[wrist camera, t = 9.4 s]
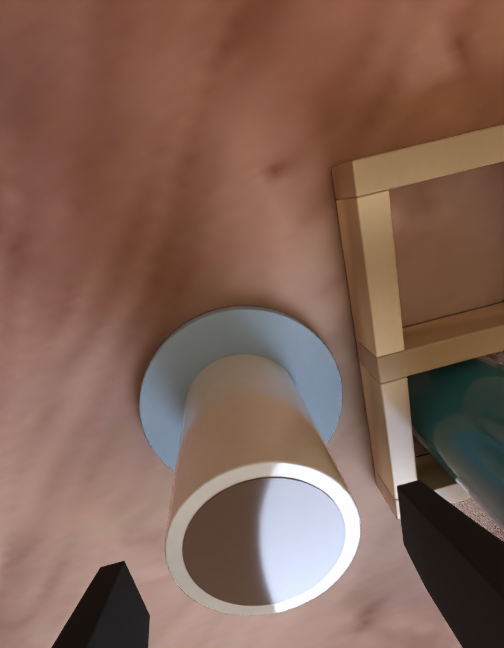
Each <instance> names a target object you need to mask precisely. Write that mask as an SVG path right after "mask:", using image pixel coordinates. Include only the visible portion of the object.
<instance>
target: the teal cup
mask: <svg viewBox="0 0 504 648" xmlns="http://www.w3.org/2000/svg"><path fill="white" fill-rule="evenodd" d="M407 381H408V391H409V402H410V412H411V422H412V432H413V435H414V436H415V437H416V439H417V440H418V441H419V442H420V443H421V444H422V445H423V446H424V447H425V448H426V449H427V450H428V452H429V453H430V454H431V455H432V456H433V457H434V458H435V459H436V460H437V461H438V462H439V463H440V465H441V466H442V467H443V468H444V469H445V470H446V471H447V472H448V473H449V474H450V475H451V477H452V478H453V479H454V480H455V481H456V482H457V483H458V484H459V485H460V486H461V487H462V488H463V490H464V491H465V492H466V493H467V494H468V495H469V496H470V497H471V498H472V499H473V500H474V501H475V503H476V504H477V505H478V506H479V507H480V508H481V509H482V510H483V511H484V512H485V513H486V514H487V516H488V517H489V518H490V519H491V520H492V521H493V522H494V523H495V524H496V525H497V526H498V527H499V529H500V530H501V531H502V532H503V533H504V365H503V364H501V363H499V362H497V361H495V360H493V359H491V358H489V357H487V356H481V357H478V358H474V359H470V360H466V361H462V362H459V363H455V364H451V365H447V366H443V367H440V368H436V369H432V370H428V371H424V372H421V373H417V374H413V375H411V376H410V377H409V379H408V380H407Z"/></svg>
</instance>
